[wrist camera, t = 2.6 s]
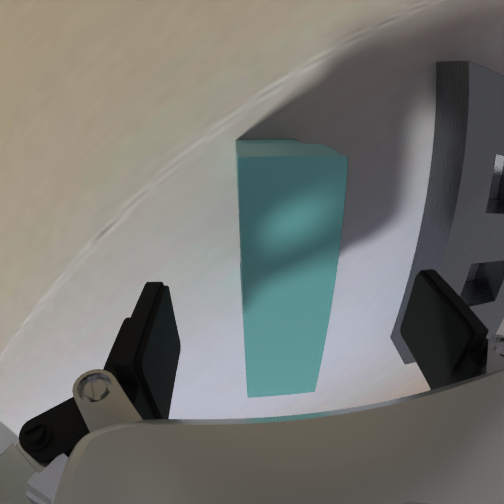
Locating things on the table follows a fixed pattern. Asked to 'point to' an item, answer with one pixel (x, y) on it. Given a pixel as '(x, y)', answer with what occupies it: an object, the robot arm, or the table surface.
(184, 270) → the table surface
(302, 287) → the clip
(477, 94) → the gray slotted base plate
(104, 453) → the robot arm
